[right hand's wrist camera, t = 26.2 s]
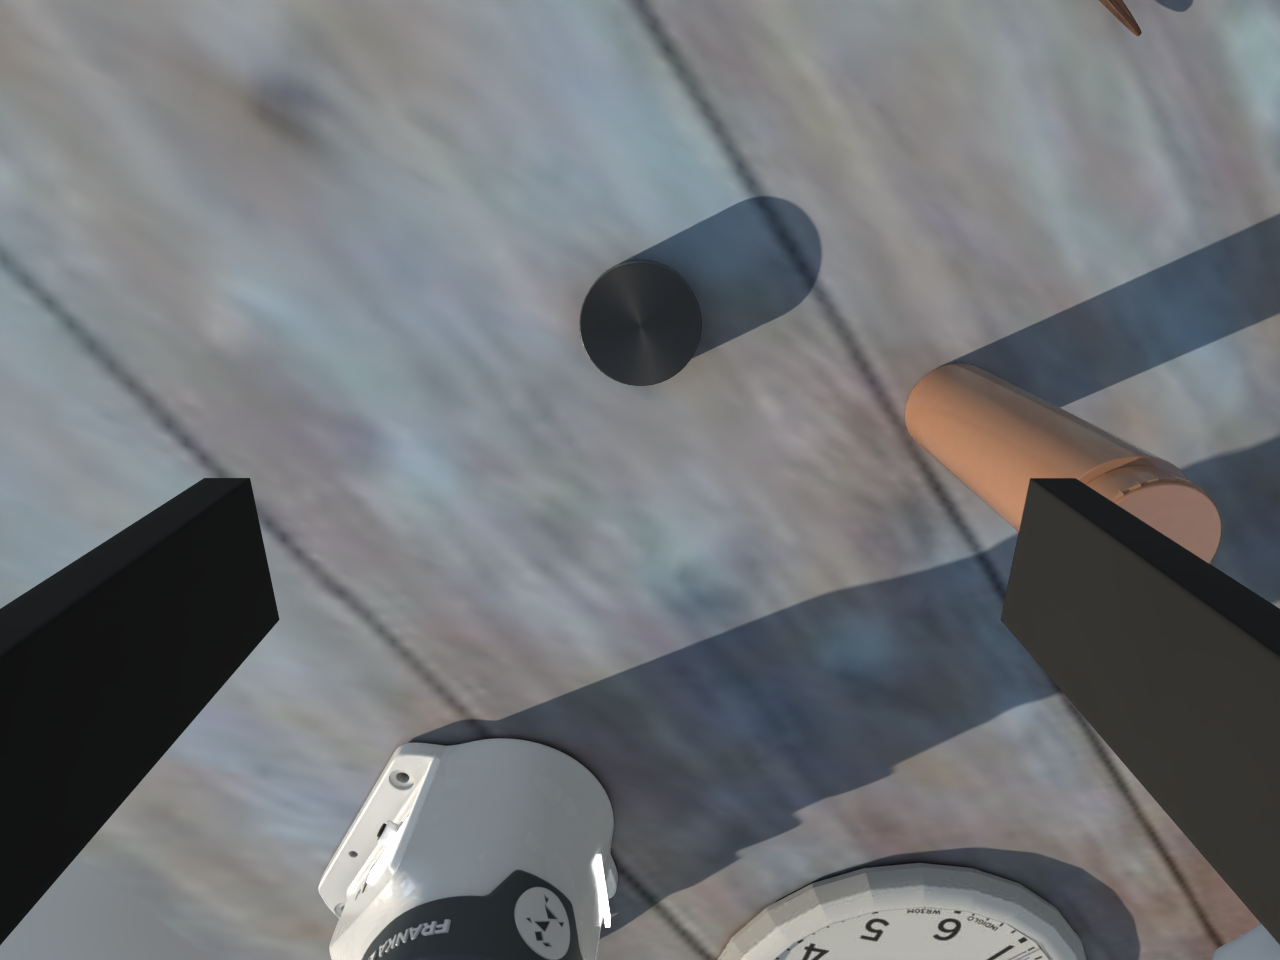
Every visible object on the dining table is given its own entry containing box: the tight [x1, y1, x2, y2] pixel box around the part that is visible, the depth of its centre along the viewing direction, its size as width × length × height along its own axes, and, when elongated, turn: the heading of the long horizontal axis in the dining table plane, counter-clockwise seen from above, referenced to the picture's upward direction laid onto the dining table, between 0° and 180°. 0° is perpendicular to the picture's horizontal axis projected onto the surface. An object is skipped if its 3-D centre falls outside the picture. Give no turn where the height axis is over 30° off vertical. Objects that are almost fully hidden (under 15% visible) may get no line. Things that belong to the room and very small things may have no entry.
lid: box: [580, 260, 701, 386], centre depth 37 cm, size 6×6×2 cm
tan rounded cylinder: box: [905, 363, 1222, 564], centre depth 32 cm, size 5×5×17 cm
